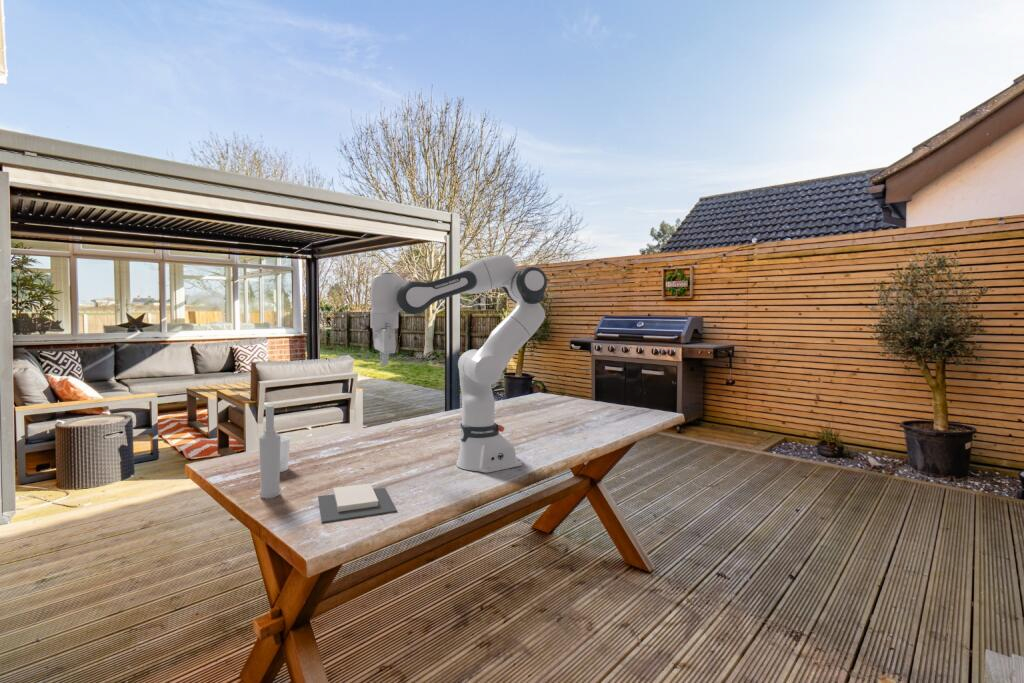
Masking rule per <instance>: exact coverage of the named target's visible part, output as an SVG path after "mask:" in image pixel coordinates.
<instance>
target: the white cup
mask: <svg viewBox="0 0 1024 683" xmlns="http://www.w3.org/2000/svg"><path fill="white" fill-rule="evenodd" d="M290 443H291V437H289V436H286V435H283V436H282V435H280V473H283V472H285V471H287V470H289V460H290V451H291V450H290V446H291V444H290Z"/></svg>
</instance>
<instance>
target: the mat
mask: <svg viewBox="0 0 1024 683" xmlns="http://www.w3.org/2000/svg"><path fill="white" fill-rule="evenodd" d="M373 490H374V492H375V495H376V497H377V499H378V506H376V507H369V508H362V509H355V510H348V511H341V512H338V510H337V506H336V502H335V497H334V493H332V494H325V495H318V496H317V497H318V506H319V507H318V508H319V513H320V520H321V524H326V523H333V522H340V521H346V520H352V519H358V518H365V517H372V516H378V515H384V514H385V515H386V514H390V513H391V514H393V513H397V512H398V509H397V508H396V506H395V504H394V502H393V500H392V498H391V496H390V495H389V493H388V491H387V489H386V487H378V488H373Z"/></svg>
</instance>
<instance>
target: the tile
mask: <svg viewBox="0 0 1024 683" xmlns="http://www.w3.org/2000/svg"><path fill="white" fill-rule="evenodd" d="M373 489H374V488H373V486H372V484H371V482H370V483H363V484H353V485H347V486H339V487H333V493H332V494H334V497H335V502H336V506H337V510H338V512H341V511H348V510H355V509H362V508H369V507H376V506H378V499H377V497H376V495H375V492H374V490H373Z"/></svg>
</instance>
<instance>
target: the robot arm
mask: <svg viewBox="0 0 1024 683" xmlns="http://www.w3.org/2000/svg"><path fill="white" fill-rule="evenodd" d="M370 283H371V284H370V296H369V298H370V303H371V309H370V313H369V314H370V316H369V319H370V324H369V325H370V326H369V327H370V329H372V340H373V348H374V349H375V350H377V351H378V352H379V357H380V365H381V366H383V367H384V366H386V367H387V366H388V365H389V359H390V357H389V356H390V354H395V353H396V350H397V347H396V330H395V329H399V312H400V311H403V312H405V313H407V314H410V315H419V314H422V313H423V312H425V311H426V310H427V309H429V307H431V305H432V304H434V303H436V302H438V301H442V300H444V299H447V298H449V297H452V296H456V295H459V294H467V295H468V294H469V295H474V294H481V293H485V292H489V291H492V290H494V289H497V288H500V287H501V288H502V290H503V291H504V292H505V294H506V295H507V297H508V299H510V300H511V301H512V303H513V302H514V303H515V306H514V308H513V310H511V311H510V313H508V315H506V316H505V317H504V318H503V319H502V321H501V322H500V323H498V324H497V326H496V327H495V328H493V329H492V331H491V332H490V334H489V336H488V338H487V339H486V341H485V342H484V343H483V345H482V346H481V347H480V348H479V349H475V348H474V349H468V350H466V351H465V352H464V353H462V354H461V355H460V356H459V358H458V361H457V367H458V374H459V386H460V393H461V423H460V429H459V438H460V447H459V453H458V457H457V461H456V466H457V467H458V468H459V469H463V470H467V471H473V472H474V471H475V472H481V473H492V472H498V471H502V470H508V469H511V468H516V467H521V466H523V460H522V458H520V456H517V454H516V448H515V446H514V445H513V443H511V442H510V440H508V439H507V438H506V437H504V436H503V435H502V434H500V432H501V433H503V432H504V431H505V427H504V426H503V425H501V424H497V423H496V422H495V414H496V413H495V412H496V411H495V410H496V408H495V407H496V406H495V405H496V402H495V397H494V393H493V389H492V388H493V387H492V385H495V384H496V383H498V382H499V381H500V380H501V378H502V376H503V374H504V371H505V369H506V368H507V366H508V365H509V363H510V361H511V360H512V358H513V357H514V355H515V354H517V352H518V351H519V350H520V349H521V348H522V347H523V346H524V345H525V344H526V343H527V342H528V341H529V339H531V338H532V337H533V336H534V334H535V333H536V332H537V330H539V328H540V327H541V325H542V324H543V322H544V321H545V318H546V311H545V309H544V308H543V306H542V305H541V304H540V303H541V302H542V301H543V300H544V296H545V292H546V290H547V286H548V278H547V275H546V273H545V272H544V271H543V270H542V269H540V268H539V267H536V266H527V267H524V268H522V269H519V268H518V267H517V266H516V263H515V261H514V259H513V258H512V257H511V256H510V255H509V254H497V255H491V256H487V257H483V258H479V259H476V260H474V261H471V262H469V263H467V264H465V265H464V266H462V267H460V268H459V270H457V271H456V272H454V273H453V274H450V275H448V276H445V277H442V278H438V279H436V280H435V279H434V280H432V281H428V282H423V281H408V280H406V279H404V278H402V277H401V276H399V275H397V273H395V272H383V273H379V274H376V275H374V277H373V278H372V279H371V282H370Z"/></svg>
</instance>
